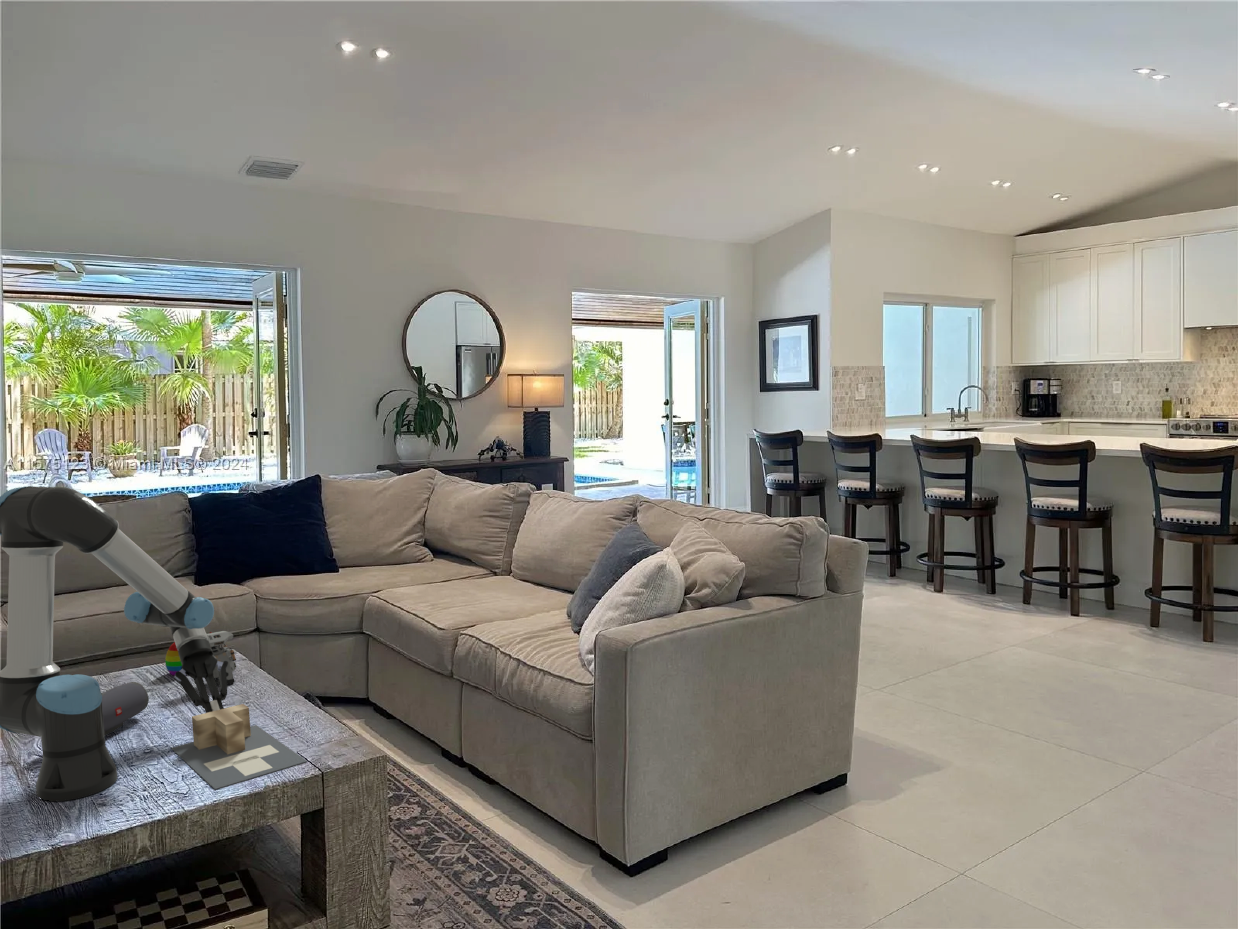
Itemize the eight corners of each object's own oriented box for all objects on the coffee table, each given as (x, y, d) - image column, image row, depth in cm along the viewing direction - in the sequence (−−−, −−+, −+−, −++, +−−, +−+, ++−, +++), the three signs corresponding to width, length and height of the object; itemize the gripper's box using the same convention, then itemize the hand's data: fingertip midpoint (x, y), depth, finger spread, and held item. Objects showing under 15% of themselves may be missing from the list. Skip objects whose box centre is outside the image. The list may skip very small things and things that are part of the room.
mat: (215, 789, 195) (214, 788, 195) (171, 748, 219) (171, 747, 219) (307, 761, 208) (307, 761, 208) (256, 725, 232) (256, 725, 232)
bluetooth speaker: (86, 752, 220) (82, 711, 219) (52, 750, 221) (49, 709, 221) (152, 717, 242) (149, 680, 241) (121, 716, 244) (118, 679, 243)
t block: (209, 759, 211) (207, 729, 211) (194, 745, 220) (191, 716, 220) (262, 744, 219) (260, 716, 218) (245, 731, 228) (243, 703, 228)
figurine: (190, 684, 268) (186, 633, 267) (232, 675, 275) (228, 626, 274) (198, 692, 261) (193, 640, 260) (240, 682, 268) (236, 632, 267)
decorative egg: (160, 677, 277) (157, 644, 276) (177, 668, 285) (175, 636, 284) (185, 677, 275) (182, 644, 274) (201, 669, 283) (199, 637, 282)
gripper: (216, 648, 243) (244, 726, 232) (163, 659, 234) (189, 741, 223) (222, 632, 238) (250, 711, 227) (168, 643, 230) (194, 726, 219)
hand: (220, 726), depth 225 cm, fingers closed
